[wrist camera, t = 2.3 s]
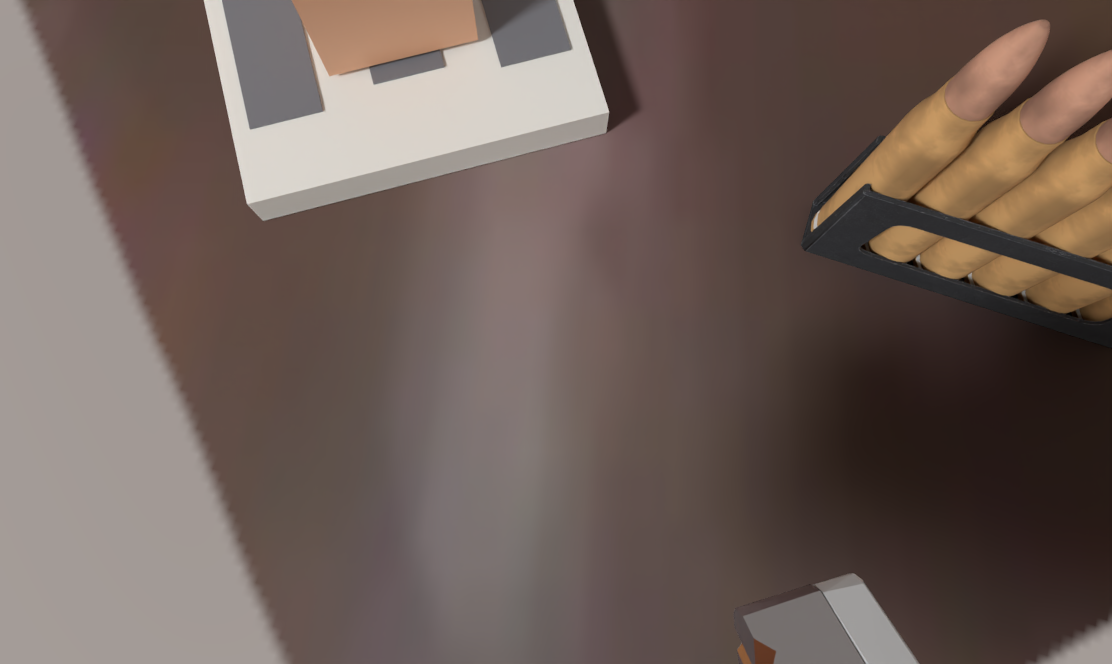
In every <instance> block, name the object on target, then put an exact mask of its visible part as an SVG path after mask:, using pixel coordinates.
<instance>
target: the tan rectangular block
mask: <svg viewBox="0 0 1112 664" xmlns="http://www.w3.org/2000/svg"><path fill="white" fill-rule="evenodd" d="M292 2H293V4H294V6H295V8H296V10H297V12H298V14H299V16H300V18H301V20H302V22H303V24H304V26H305V28H306V30H307V32H308V34H309V36H310V38H311V40H312V42H313V44H314V46H315V48H316V50H317V52H318V54H319V56H320V58H321V60H322V62H323V64H324V66H325V68H326V70H327V72H328V74H329V76H333V75H337V74H341V73H345V72H349V71H353V70H357V69H361V68H365V67H369V66H374V65H378V64H382V63H386V62H390V61H394V60H398V59H402V58H406V57H410V56H414V55H418V54H422V53H427V52H431V51H435V50H439V49H443V48H447V47H451V46H455V45H459V44H463V43H467V42H471V41H475V40H478V35H477V28H476V22H475V15H474V8H473V1H472V0H292Z"/></svg>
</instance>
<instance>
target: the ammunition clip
mask: <svg viewBox="0 0 1112 664" xmlns="http://www.w3.org/2000/svg"><path fill="white" fill-rule="evenodd" d="M1049 31H1050V23H1049V22H1048V21H1047V20H1037V21H1034V22H1030V23H1028V24H1025V25H1023V26H1020V27H1018V28H1016V29H1014V30H1012V31H1011V32H1009V33H1007V34H1005V35H1003V36H1002V37H1000V38H999V39H997V40H996V41H994V42H993V43H991V44H990V45H989V46H987V47H986V48H985V49H984V50H982V51H981V52H980V53H979V54H978V55H976V56H975V57H974V58H973V59H972V60H971V61H969V62H968V63H967V64H966V65H965V66H964V67H963V68H962V69H961V70H960V71H959V72H958V73H957V74H956V75H955V76H953V77H952V78H951V79H950V80H949V81H948V82H946V83H945V84H944V85H943V86H942V87H941V88H940V89H939V90H938V91H937V92H936V93H934V94H933V95H931V96H929V97H928V98H926V99H924V100H923V101H921V102H920V103H919V104H918V105H917V106H915V107H914V108H913V109H912V110H911V111H910V112H909V113H908V114H907V115H906V116H905V117H904V118H903V119H902V120H901V122H900V123H899V124H898V125H897V126H896V127H895V128H894V129H893V130H892V131H891V132H890V134H889V135H888V136H887V137H885V136H878V137H877V138H876V139H875V140H874V141H873V142H872V143H871V144H870V145H869V146H868V147H867V148H866V149H865V150H864V151H863V152H862V153H861V154H860V155H859V156H858V157H857V158H856V159H855V160H854V161H853V162H852V163H851V164H850V165H849V166H848V167H847V168H846V169H845V170H844V171H843V172H842V173H841V174H840V175H839V176H838V177H837V178H836V179H835V180H834V181H833V182H832V183H831V184H830V185H829V186H828V187H827V188H826V189H825V190H824V191H823V192H822V193H821V194H820V195H819V196H818V197H817V198H816V199H815V200H814V201H813V204H812V208H811V211H810V215H809V218H808V222H807V226H806V229H805V233H804V236H803V240H802V243H801V246H802V247H803V249H804V250H805V251H807V252H810V253H813V254H817V255H820V256H823V257H826V258H829V259H832V260H835V261H839V262H842V263H845V264H848V265H851V266H854V267H857V268H861V269H864V270H867V271H870V272H873V273H876V274H879V275H883V276H886V277H889V278H892V279H895V280H898V281H902V282H905V283H908V284H911V285H914V286H917V287H920V288H924V289H927V290H930V291H933V292H936V293H939V294H942V295H946V296H949V297H952V298H955V299H958V300H961V301H965V302H968V303H971V304H974V305H977V306H980V307H983V308H987V309H990V310H993V311H996V312H999V313H1002V314H1005V315H1009V316H1012V317H1015V318H1018V319H1021V320H1024V321H1028V322H1031V323H1034V324H1037V325H1040V326H1043V327H1046V328H1050V329H1053V330H1056V331H1059V332H1062V333H1065V334H1068V335H1072V336H1075V337H1078V338H1081V339H1084V340H1087V341H1091V342H1094V343H1097V344H1100V345H1103V346H1106V347H1109V348H1112V118H1110V119H1109V120H1106V121H1103V122H1102V123H1100V124H1099V125H1097V126H1095V127H1094V128H1092V129H1091V130H1089V131H1087V132H1086V133H1084V134H1083V135H1081V136H1078V137H1076V138H1073V139H1071V140H1068V141H1066V142H1064V141H1065V140H1066V139H1067V138H1068V137H1069V136H1070V135H1071V134H1072V133H1074V132H1075V131H1076V130H1078V129H1079V128H1080V127H1082V126H1083V125H1084V124H1085V123H1086V122H1087V121H1089V120H1090V119H1091V118H1092V117H1093V116H1094V115H1095V114H1096V113H1097V112H1098V111H1099V110H1100V109H1101V108H1102V107H1103V106H1104V105H1105V104H1106V103H1108V102H1109V100H1110V99H1111V98H1112V50H1109V51H1107V52H1104V53H1102V54H1100V55H1097V56H1095V57H1093V58H1090V59H1088V60H1086V61H1084V62H1082V63H1080V64H1078V65H1077V66H1075V67H1073V68H1071V69H1070V70H1068V71H1066V72H1065V73H1063V74H1062V75H1060V76H1059V77H1057V78H1056V79H1054V80H1053V81H1051V82H1050V83H1049V84H1047V85H1046V86H1045V87H1044V88H1043V89H1041V90H1040V91H1039V92H1038V93H1037V94H1035V95H1034V96H1033V97H1032V98H1029V99H1027V100H1026V101H1024V102H1023V103H1022V104H1021V105H1019V106H1018V107H1017V108H1015V109H1014V110H1013V111H1011V112H1010V113H1009V114H1007V115H1005V116H1003V117H1000V118H998V119H996V120H994V121H992V122H991V123H989V124H987V125H986V126H985V127H984V128H982V129H981V130H980V131H979V132H978V133H977V134H976V132H977V130H978V129H979V128H980V127H981V126H982V125H983V124H984V123H985V122H986V121H987V120H988V119H989V118H990V117H991V116H992V115H993V114H994V112H995V110H996V109H997V108H998V107H999V106H1000V105H1001V104H1002V103H1004V102H1005V101H1006V100H1007V99H1008V98H1009V97H1010V96H1011V95H1012V94H1013V93H1014V91H1015V90H1016V89H1017V88H1018V87H1019V85H1020V84H1021V83H1022V82H1023V81H1024V79H1025V78H1026V77H1027V75H1028V74H1029V73H1030V71H1031V70H1032V68H1033V67H1034V65H1035V63H1036V62H1037V60H1038V58H1039V56H1040V54H1041V53H1042V51H1043V49H1044V46H1045V44H1046V41H1047V39H1048V36H1049Z"/></svg>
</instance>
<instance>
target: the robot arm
mask: <svg viewBox="0 0 1112 664" xmlns="http://www.w3.org/2000/svg"><path fill="white" fill-rule="evenodd" d="M734 626H735V629H736V631H737V633H738V636H739V638H740V640H741V642H742V644H741V645H740V647H739V648H738V649H737V654H738V661H739V664H919V662H918V661H917V659H916V658H915V656H914V655H913V653H912V652H911V650H910V649H909V647H908V646H907V645H906V643H905V642H904V640H903V639H902V637H901V636H900V634H899V633H898V631H897V630H896V628H895V627H894V625H893V624H892V622H891V621H890V620H889V618H888V617H887V615H886V614H885V612H884V611H883V609H882V608H881V606H880V605H879V603H878V602H877V600H876V599H875V598H874V596H873V595H872V593H871V592H870V590H869V589H868V587H867V586H866V584H865V583H864V581H863V580H862V579H861V578H859V577H858V576H857V575H855V574H854V573H848V574H845V575H842V576H839V577H836V578H833V579H830V580H827V581H824V582H820V583H817V584H814V585H811V584H809V585H806V586H803V587H800V588H797V589H794V590H790V591H787V592H784V593H781V594H778V595H775V596H772V597H768V598H765V599H762V600H759V601H756V602H753V603H750V604H746V605H743V606H740V607H737V608H735V611H734Z"/></svg>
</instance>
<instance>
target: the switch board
mask: <svg viewBox="0 0 1112 664" xmlns="http://www.w3.org/2000/svg"><path fill="white" fill-rule="evenodd" d="M472 1H473V8H474V15H475V22H476V28H477V35H478V40H475V41H471V42H467V43H463V44H459V45H455V46H451V47H447V48H443V49H439V50H435V51H431V52H427V53H422V54H418V55H414V56H410V57H406V58H402V59H398V60H394V61H390V62H386V63H382V64H378V65H374V66H369V67H365V68H361V69H357V70H353V71H349V72H345V73H341V74H337V75H333V76H329V74H328V72H327V70H326V68H325V66H324V64H323V62H322V60H321V58H320V56H319V54H318V52H317V50H316V48H315V46H314V44H313V42H312V40H311V38H310V36H309V34H308V32H307V30H306V28H305V26H304V24H303V22H302V20H301V18H300V16H299V14H298V12H297V10H296V8H295V6H294V4H293V2H292V0H204V3H205V8H206V12H207V17H208V22H209V26H210V31H211V36H212V41H213V45H214V50H215V55H216V59H217V64H218V69H219V74H220V78H221V83H222V88H223V93H224V97H225V102H226V107H227V111H228V116H229V121H230V126H231V130H232V135H233V140H234V145H235V149H236V154H237V159H238V163H239V168H240V173H241V178H242V182H243V187H244V192H245V197H246V201H247V205H248V206H249V207H250V208H251V209H252V210H253V211H254V212H255V213H256V214H257V215H258V216H259V217H260V218H261V219H262V220H263V221H265V220H269V219H273V218H277V217H280V216H284V215H288V214H292V213H296V212H300V211H304V210H308V209H312V208H316V207H319V206H323V205H327V204H331V203H335V202H339V201H343V200H347V199H351V198H355V197H358V196H362V195H366V194H370V193H374V192H378V191H382V190H386V189H390V188H394V187H397V186H401V185H405V184H409V183H413V182H417V181H421V180H425V179H429V178H433V177H436V176H440V175H444V174H448V173H452V172H456V171H460V170H464V169H468V168H472V167H476V166H479V165H483V164H487V163H491V162H495V161H499V160H503V159H507V158H511V157H515V156H518V155H522V154H526V153H530V152H534V151H538V150H542V149H546V148H550V147H554V146H557V145H561V144H565V143H569V142H573V141H577V140H581V139H585V138H589V137H593V136H596V135H600V134H604V133H606V130H607V124H608V117H609V110H608V106H607V103H606V100H605V97H604V94H603V91H602V88H601V85H600V82H599V79H598V75H597V72H596V69H595V66H594V63H593V60H592V57H591V54H590V51H589V48H588V44H587V41H586V38H585V35H584V32H583V29H582V26H581V23H580V20H579V17H578V13H577V10H576V7H575V4H574V1H573V0H472Z"/></svg>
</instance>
